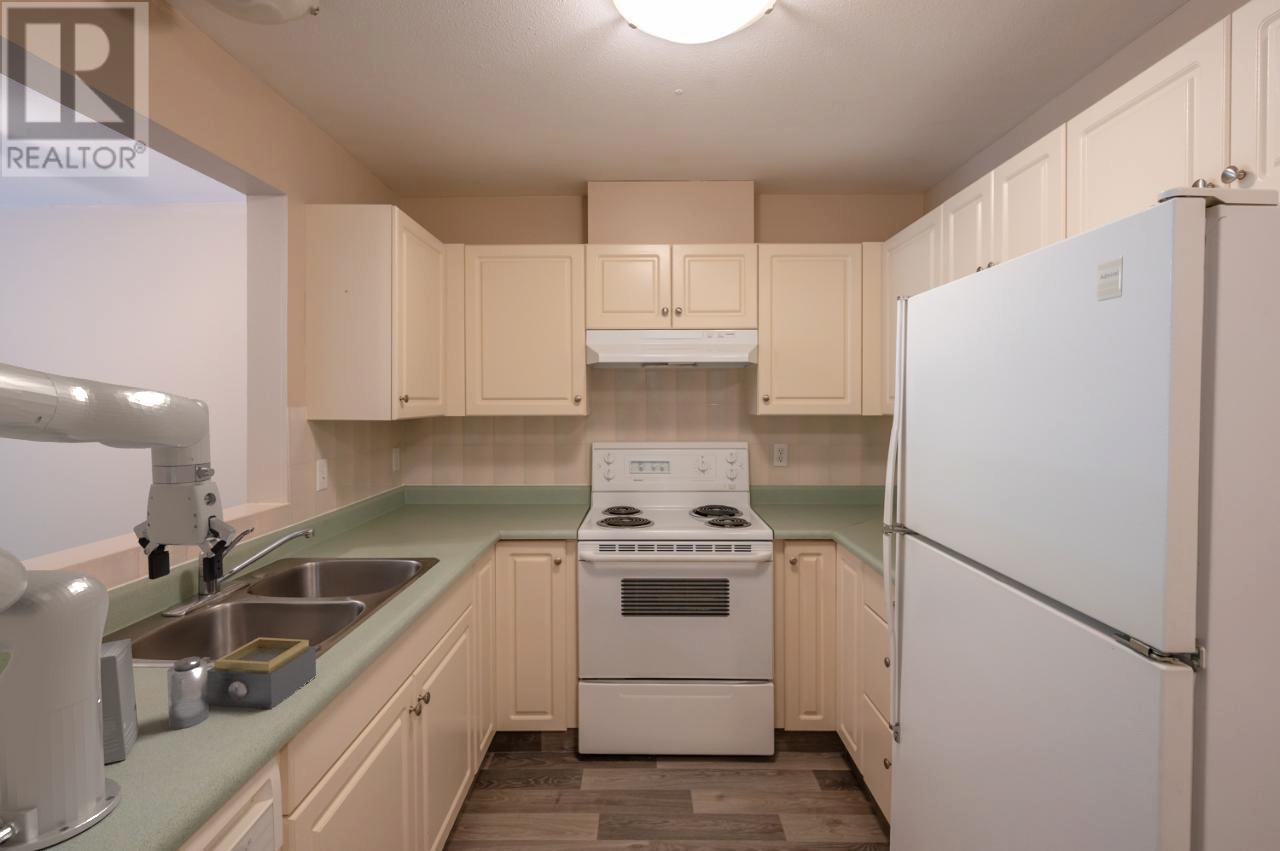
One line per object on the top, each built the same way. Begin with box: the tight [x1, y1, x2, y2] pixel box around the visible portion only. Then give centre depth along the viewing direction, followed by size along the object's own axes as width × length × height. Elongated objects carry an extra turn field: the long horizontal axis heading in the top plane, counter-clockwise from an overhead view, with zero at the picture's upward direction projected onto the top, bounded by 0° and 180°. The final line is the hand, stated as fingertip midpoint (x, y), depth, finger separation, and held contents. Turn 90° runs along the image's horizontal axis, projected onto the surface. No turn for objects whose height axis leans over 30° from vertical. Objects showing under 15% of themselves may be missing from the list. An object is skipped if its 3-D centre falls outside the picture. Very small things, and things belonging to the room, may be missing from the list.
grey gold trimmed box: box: [207, 636, 317, 710], centre depth 106 cm, size 12×12×8 cm
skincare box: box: [100, 637, 139, 765], centre depth 87 cm, size 8×7×16 cm
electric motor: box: [166, 656, 211, 730], centre depth 97 cm, size 6×5×10 cm
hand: (186, 578), depth 95 cm, fingers open, 9 cm apart
